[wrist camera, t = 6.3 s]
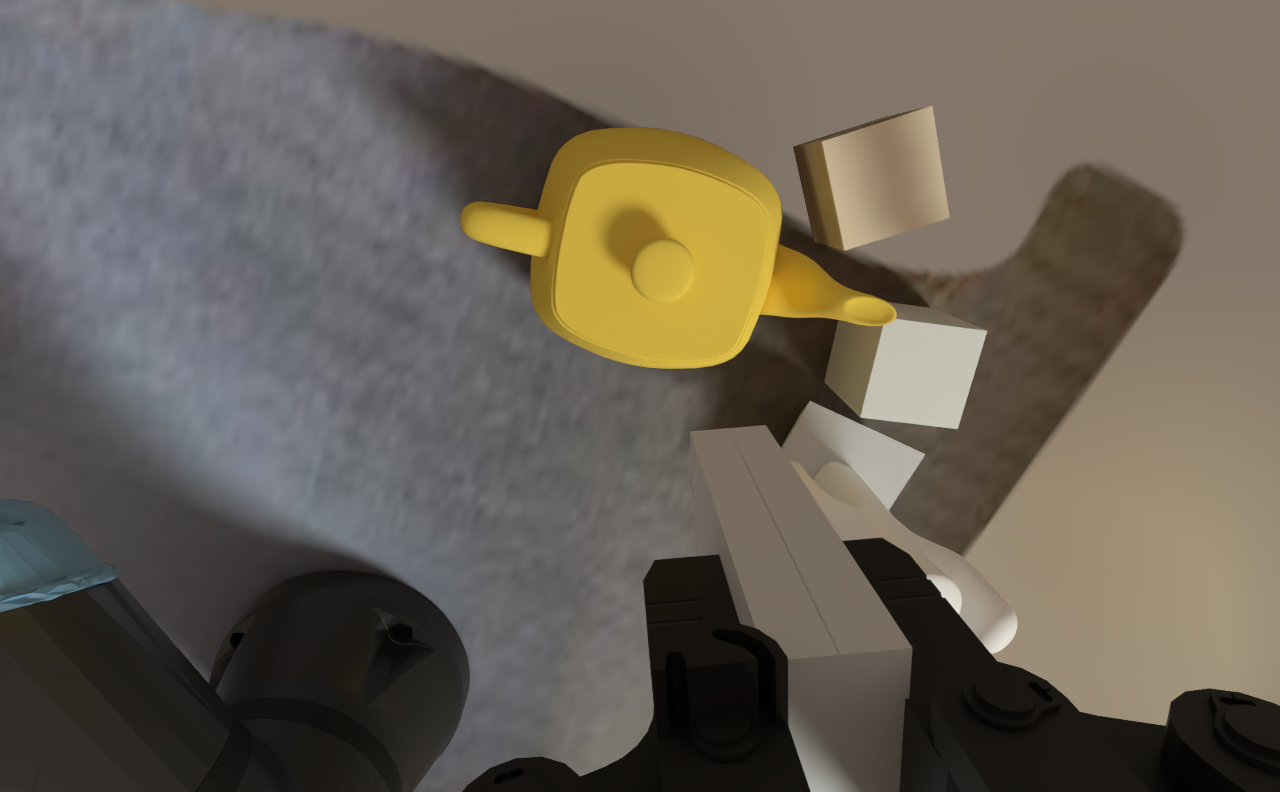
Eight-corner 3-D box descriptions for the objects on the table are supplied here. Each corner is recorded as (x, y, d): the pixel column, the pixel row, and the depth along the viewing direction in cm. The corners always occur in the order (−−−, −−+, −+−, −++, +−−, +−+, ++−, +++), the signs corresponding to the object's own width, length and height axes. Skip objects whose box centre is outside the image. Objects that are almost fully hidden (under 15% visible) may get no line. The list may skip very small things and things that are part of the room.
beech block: (813, 241, 36) (844, 250, 31) (793, 146, 34) (821, 141, 29) (904, 212, 35) (949, 218, 31) (887, 116, 34) (932, 105, 29)
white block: (823, 381, 38) (860, 417, 32) (843, 296, 37) (885, 317, 31) (907, 392, 38) (957, 429, 33) (930, 307, 37) (987, 330, 31)
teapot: (852, 179, 35) (950, 180, 24) (792, 377, 38) (857, 450, 28) (510, 98, 33) (463, 61, 23) (479, 312, 36) (425, 364, 26)
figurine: (775, 372, 38) (871, 489, 24) (913, 437, 39) (1082, 583, 25) (716, 477, 40) (773, 644, 25) (850, 535, 41) (974, 722, 27)
